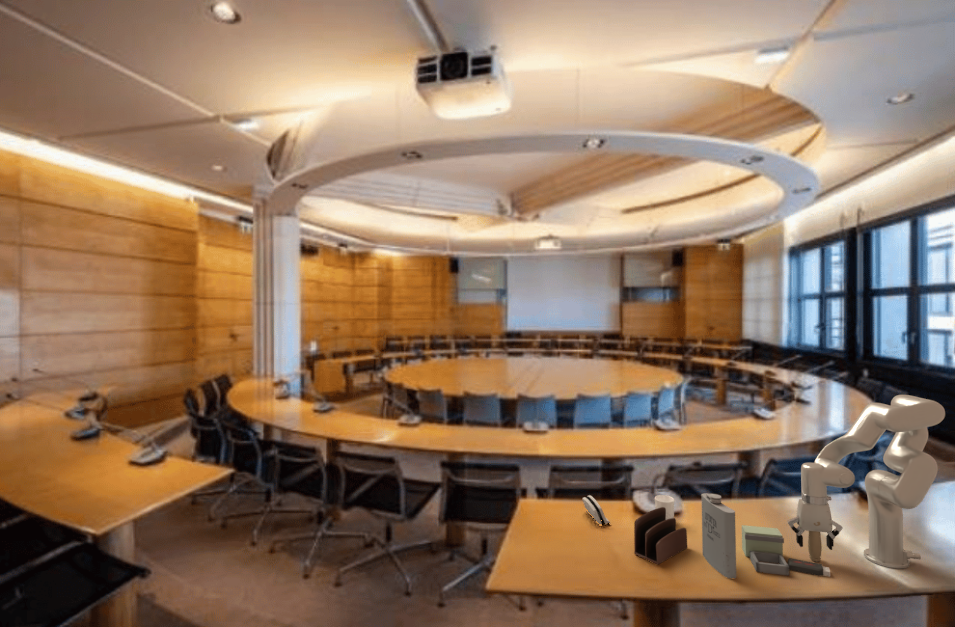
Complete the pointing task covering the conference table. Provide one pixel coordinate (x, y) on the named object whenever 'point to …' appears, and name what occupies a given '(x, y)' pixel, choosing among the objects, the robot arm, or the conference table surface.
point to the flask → (718, 535)
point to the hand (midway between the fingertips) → (814, 546)
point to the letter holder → (658, 536)
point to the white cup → (665, 505)
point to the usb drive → (808, 567)
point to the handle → (814, 545)
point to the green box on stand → (764, 549)
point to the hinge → (595, 509)
